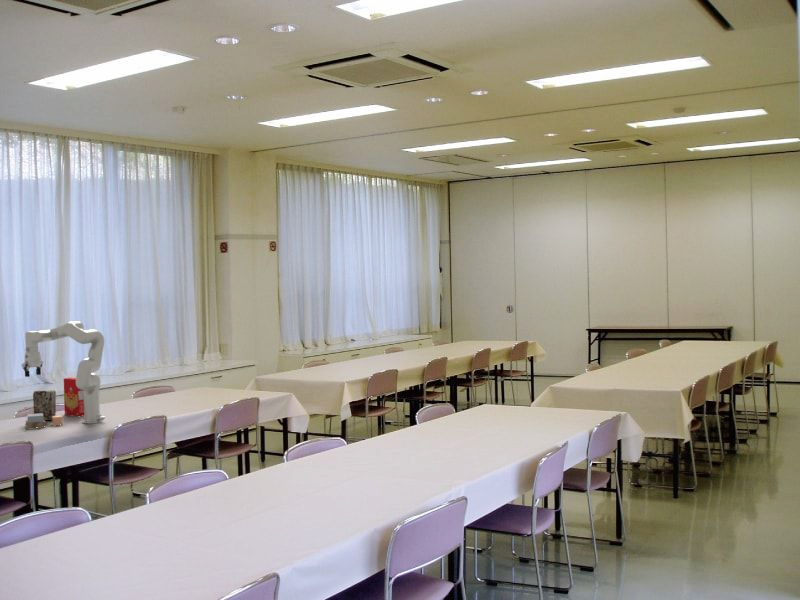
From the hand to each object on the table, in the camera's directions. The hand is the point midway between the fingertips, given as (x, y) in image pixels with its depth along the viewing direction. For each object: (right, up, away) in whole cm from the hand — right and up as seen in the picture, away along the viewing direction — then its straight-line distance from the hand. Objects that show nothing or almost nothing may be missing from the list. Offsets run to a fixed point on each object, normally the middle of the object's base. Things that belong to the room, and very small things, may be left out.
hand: (32, 375), depth 534 cm
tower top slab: (+11, -27, -20) cm, 35 cm away
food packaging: (+20, -29, +20) cm, 40 cm away
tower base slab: (+11, -31, -20) cm, 39 cm away
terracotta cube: (+22, -30, -15) cm, 40 cm away
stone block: (+7, -30, +1) cm, 31 cm away
